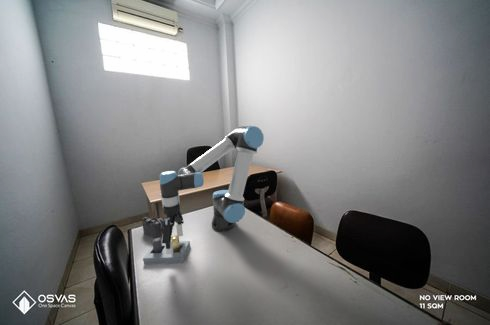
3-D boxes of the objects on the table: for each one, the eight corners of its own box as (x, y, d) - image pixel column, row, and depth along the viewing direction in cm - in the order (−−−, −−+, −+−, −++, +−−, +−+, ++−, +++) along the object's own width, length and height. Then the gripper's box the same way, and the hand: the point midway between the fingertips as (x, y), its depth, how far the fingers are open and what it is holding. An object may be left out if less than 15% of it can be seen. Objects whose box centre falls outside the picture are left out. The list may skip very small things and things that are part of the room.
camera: (172, 229, 109) (170, 215, 107) (157, 239, 99) (154, 223, 97) (157, 224, 115) (155, 210, 113) (141, 233, 105) (139, 218, 104)
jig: (190, 245, 93) (188, 232, 91) (182, 262, 81) (181, 247, 80) (156, 247, 93) (154, 233, 91) (143, 264, 81) (141, 248, 79)
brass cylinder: (181, 249, 89) (179, 235, 87) (178, 254, 85) (177, 240, 83) (173, 249, 89) (171, 235, 87) (170, 255, 85) (168, 240, 83)
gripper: (173, 194, 94) (177, 229, 98) (149, 217, 70) (155, 263, 74) (187, 194, 94) (190, 229, 98) (168, 216, 70) (173, 262, 74)
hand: (175, 243), depth 86 cm, fingers open, 13 cm apart
